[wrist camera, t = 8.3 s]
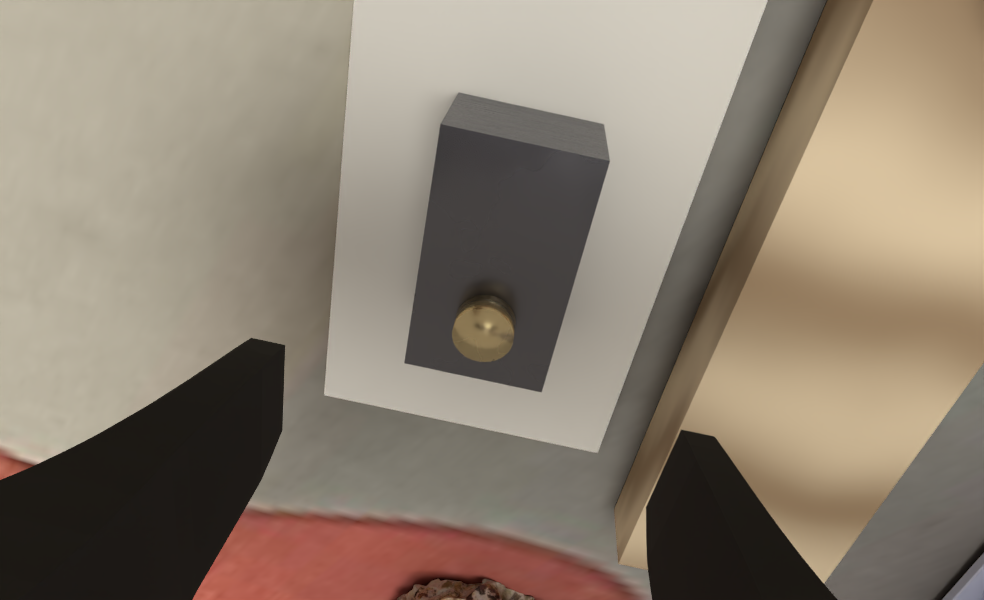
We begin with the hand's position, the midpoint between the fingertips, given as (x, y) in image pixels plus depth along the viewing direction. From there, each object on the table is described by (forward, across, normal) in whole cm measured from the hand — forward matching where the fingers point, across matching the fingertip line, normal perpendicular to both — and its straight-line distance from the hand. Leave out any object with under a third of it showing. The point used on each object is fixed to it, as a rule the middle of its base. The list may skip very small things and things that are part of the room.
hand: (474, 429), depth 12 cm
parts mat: (+9, 0, 0) cm, 9 cm away
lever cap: (+9, 0, 0) cm, 9 cm away
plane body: (+9, -10, 0) cm, 14 cm away
